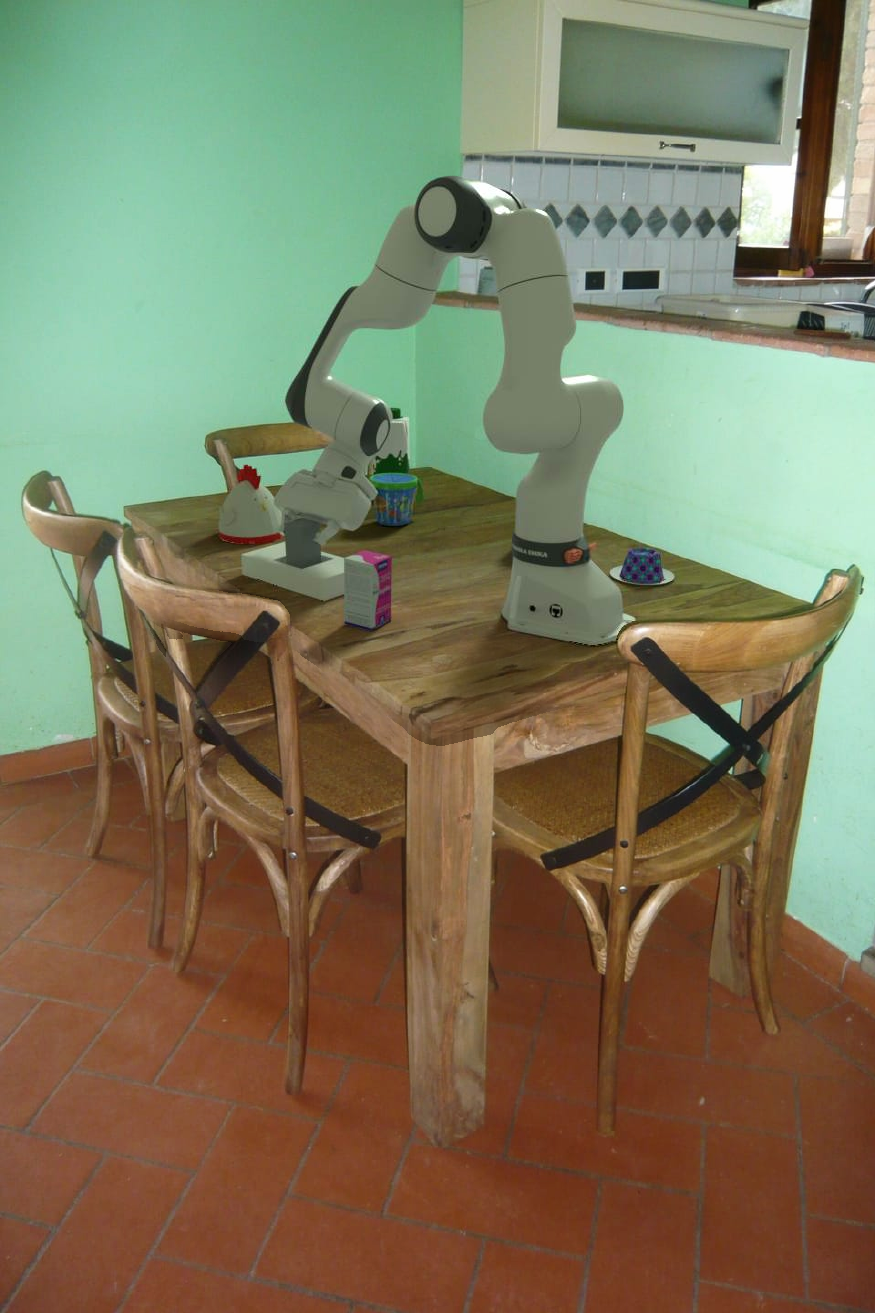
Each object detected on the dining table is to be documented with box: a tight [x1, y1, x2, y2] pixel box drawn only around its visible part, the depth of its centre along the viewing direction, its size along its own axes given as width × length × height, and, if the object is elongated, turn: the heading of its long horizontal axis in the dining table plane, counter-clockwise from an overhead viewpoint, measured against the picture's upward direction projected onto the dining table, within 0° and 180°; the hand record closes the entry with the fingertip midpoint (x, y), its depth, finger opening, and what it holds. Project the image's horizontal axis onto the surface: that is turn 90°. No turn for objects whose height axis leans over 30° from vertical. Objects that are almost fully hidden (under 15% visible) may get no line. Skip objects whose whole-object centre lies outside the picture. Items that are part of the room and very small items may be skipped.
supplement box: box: [343, 550, 393, 632], centre depth 162 cm, size 6×6×12 cm
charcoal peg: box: [284, 517, 322, 569], centre depth 181 cm, size 4×4×11 cm
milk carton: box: [372, 407, 411, 476], centre depth 241 cm, size 9×9×20 cm
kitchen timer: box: [218, 464, 285, 545], centre depth 207 cm, size 14×14×15 cm
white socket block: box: [240, 541, 345, 602], centre depth 183 cm, size 22×11×4 cm, turn 50°
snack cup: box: [367, 473, 425, 527], centre depth 218 cm, size 16×10×10 cm
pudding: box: [609, 547, 675, 586], centre depth 186 cm, size 12×12×5 cm
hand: (299, 538), depth 180 cm, fingers open, 8 cm apart
